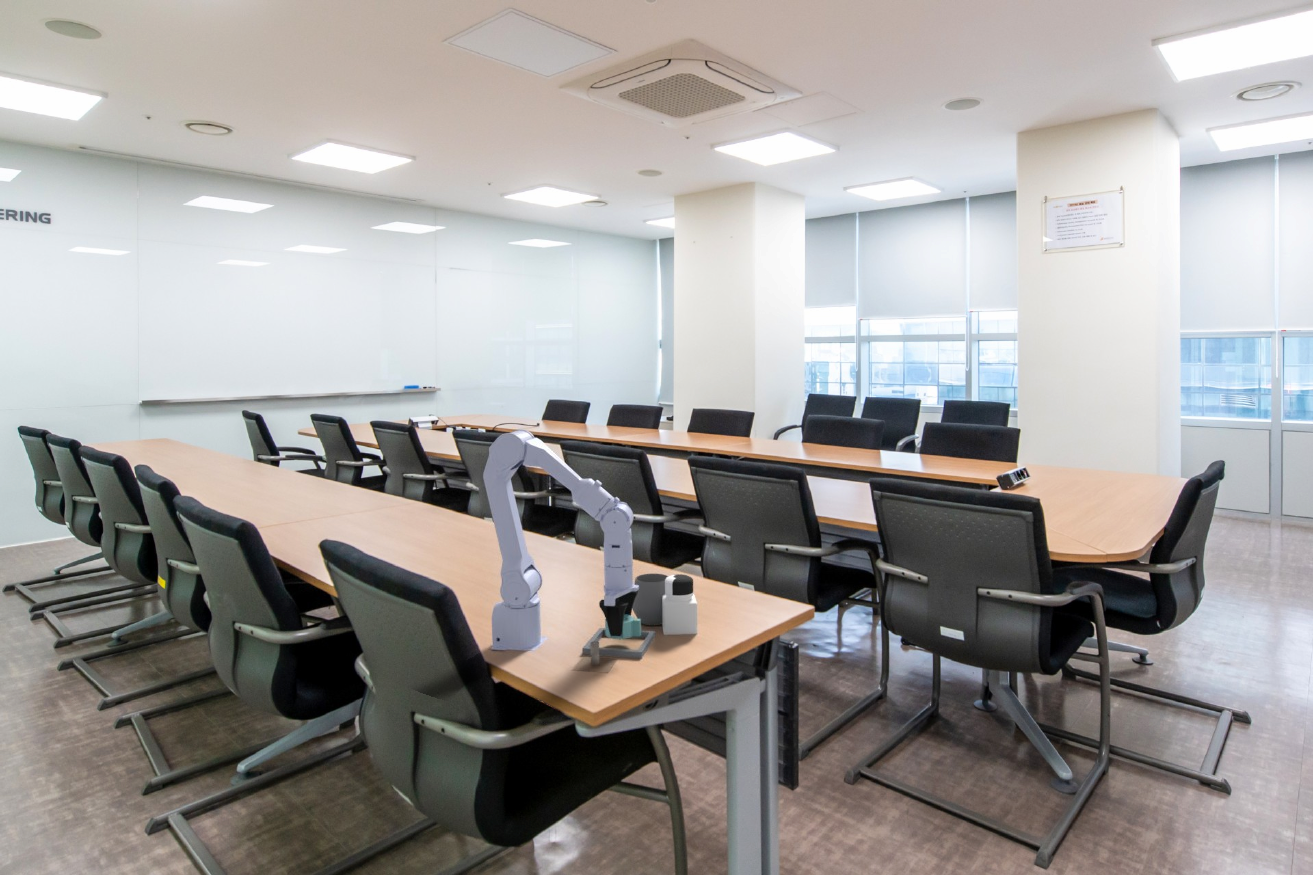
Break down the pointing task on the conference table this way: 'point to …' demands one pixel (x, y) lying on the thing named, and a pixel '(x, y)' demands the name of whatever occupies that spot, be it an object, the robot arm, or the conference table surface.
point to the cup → (649, 598)
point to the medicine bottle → (679, 606)
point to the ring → (627, 628)
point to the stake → (595, 661)
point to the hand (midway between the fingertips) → (619, 630)
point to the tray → (620, 652)
